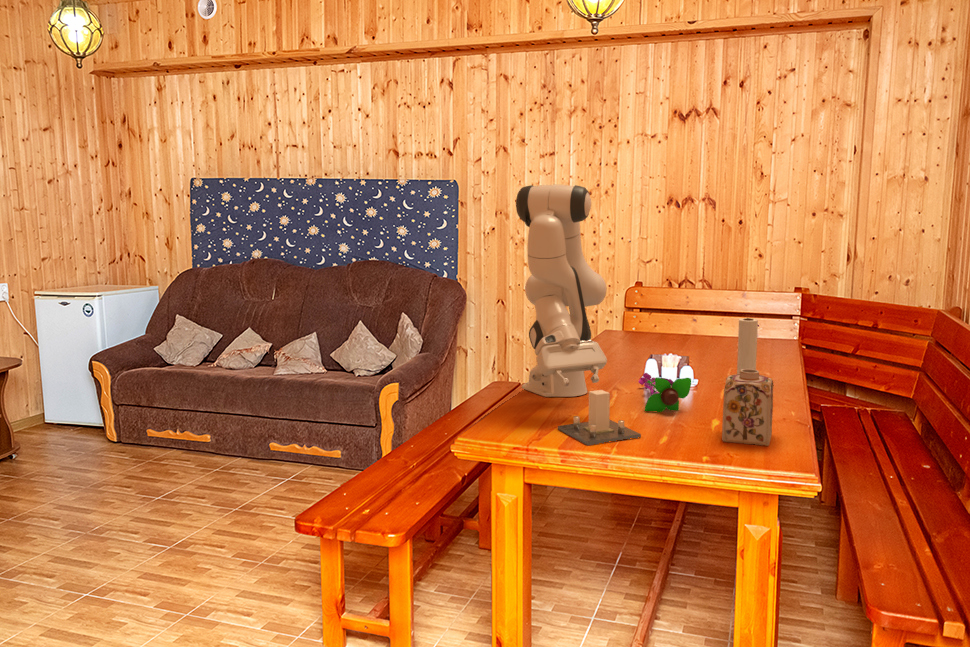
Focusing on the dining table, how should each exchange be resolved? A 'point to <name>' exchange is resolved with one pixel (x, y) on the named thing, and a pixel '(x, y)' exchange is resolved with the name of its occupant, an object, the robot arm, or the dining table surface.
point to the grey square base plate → (592, 437)
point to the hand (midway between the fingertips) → (581, 383)
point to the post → (599, 409)
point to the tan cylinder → (747, 344)
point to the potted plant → (665, 392)
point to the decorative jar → (748, 408)
